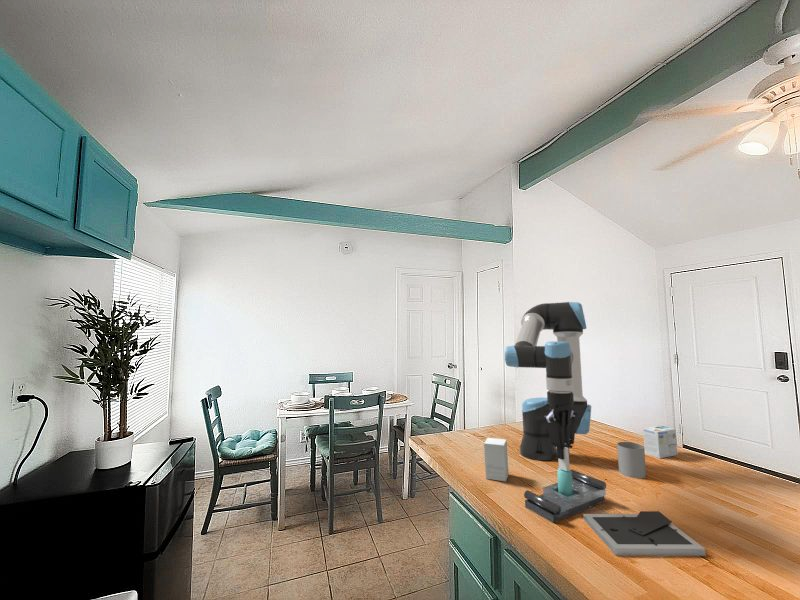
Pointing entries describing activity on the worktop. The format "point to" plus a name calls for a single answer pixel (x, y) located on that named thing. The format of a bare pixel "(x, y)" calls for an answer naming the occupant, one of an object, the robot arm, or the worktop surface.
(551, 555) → the worktop surface
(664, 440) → the light bulb box
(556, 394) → the robot arm
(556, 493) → the plate with side rollers
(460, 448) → the worktop surface
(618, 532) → the picture frame
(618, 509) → the worktop surface
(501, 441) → the supplement box
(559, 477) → the pin
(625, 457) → the cup
